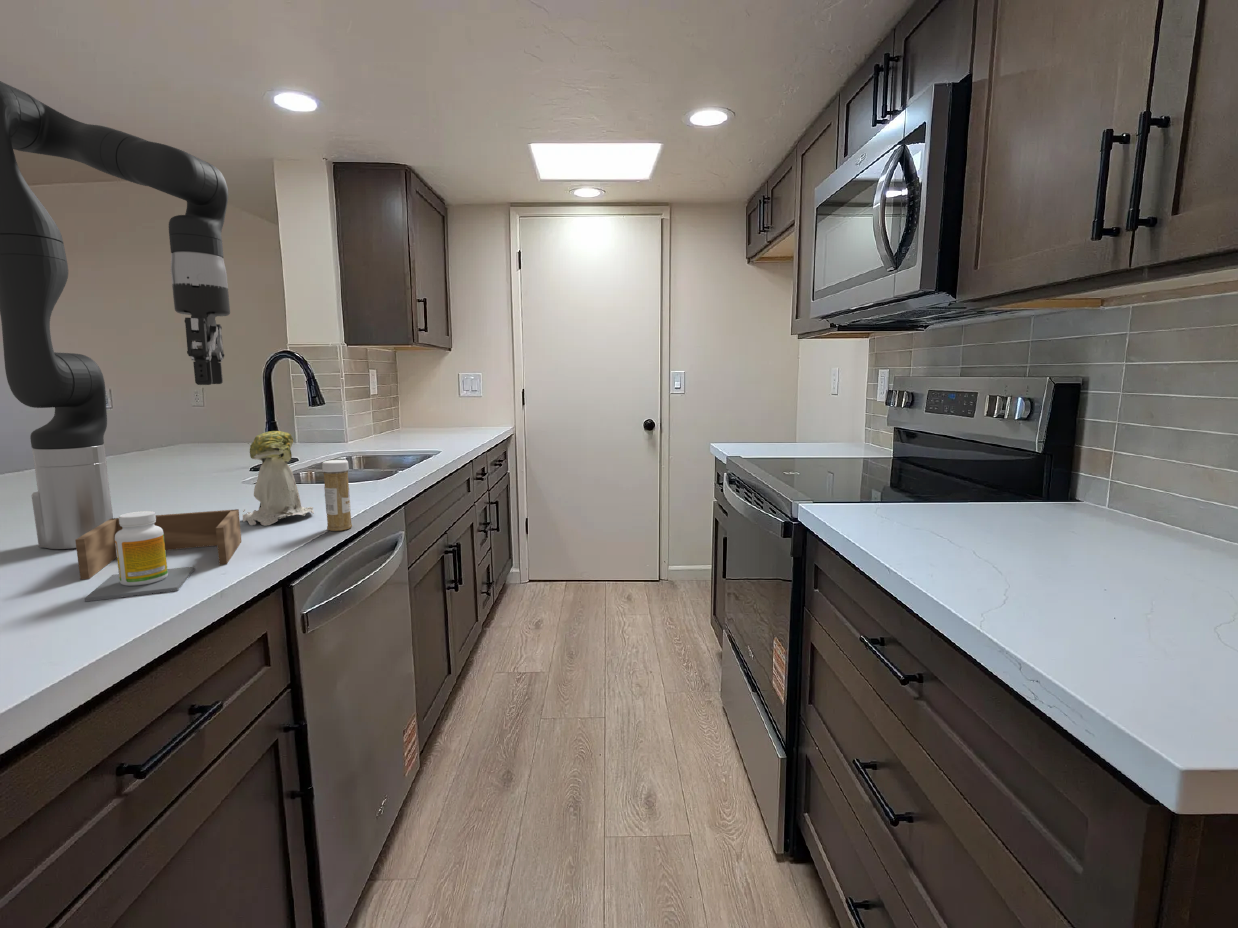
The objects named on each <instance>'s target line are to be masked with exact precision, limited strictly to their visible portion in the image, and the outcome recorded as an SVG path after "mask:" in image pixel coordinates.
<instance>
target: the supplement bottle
mask: <svg viewBox="0 0 1238 928" xmlns="http://www.w3.org/2000/svg"><path fill="white" fill-rule="evenodd" d="M155 515H156V512H155V511H152V510H151V511H150V510H145V511H144V510H142V511H134V512H133V511H131V512H127V513H123V514H120V515H119V516H118V518H119V524H120V526H122V530H120V531H118V532H117V533H116V534H115V545H116V554H117V558H116V559H117V560H116V561H117V562H116V563H117V569H118V574H119V579H120V583H121V584H122V585H126V586H137V585H146V584H151V583H155V582H158V581H160V580H163V579H165V578H166V577H167V576H168V569H169V568H168V562H167V555H166V554H167V553H166V550H165V543H164V533H163V529H162V528H161V527H159V526H155V525H154V523H155V522H156V516H155Z"/></svg>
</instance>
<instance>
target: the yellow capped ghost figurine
mask: <svg viewBox="0 0 1238 928" xmlns="http://www.w3.org/2000/svg"><path fill="white" fill-rule="evenodd" d="M293 443H294V438H293V436H292V433H290V432H286V431H282V430H281V431H280V430H271V431H265V432H263V433H260V434H258V435H256V436H255V437H254V439H253V442H252V443H251V444H250V443H249V442H248V443H247V444H248V445H249V446H250V447H249V457H250V459H252V460H259V461H261V463H262V464H261V465H260V468H259V470H258V474H257V479H256V481H255V485H254V489H253V497H254V498H255V500H257V502H260V503H259V507H258V510H256V509H255V510H253V511H252V512H250V511H247V513H244V512H245V511H246V509H243V510H242V513H244V514H242V522H243V523H244V522H248V524H249V525H250V526H253V525H254V526H255V525H257V522H259V523H260V525H262V526H265V527H266V526H271V525H273V524H274V523H276V522H278V521H279V520H281V519H284V518H287V517H289V516H295V515H300V516H301V517H304V516H306V515H307V514H308V513H311V514H314V507H312V506H308V507H305V506H302V502H301V497H300V494H299V490H298V486H297V482H296V480H295V476H294V471H293V470H292V468H291V467H290V465H289V464H288V463H290V461H291V460H292V456H293V454H292V450H291V448H292V447H293V445H294V444H293ZM256 521H257V522H256Z"/></svg>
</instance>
